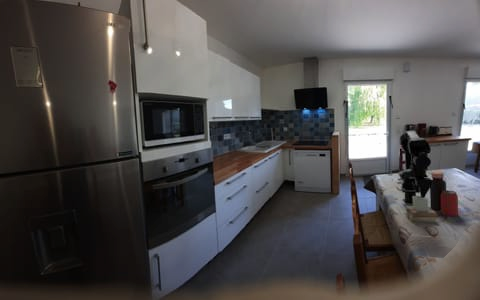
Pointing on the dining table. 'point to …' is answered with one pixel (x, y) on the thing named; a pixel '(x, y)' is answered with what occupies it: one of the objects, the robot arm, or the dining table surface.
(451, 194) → the beer can
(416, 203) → the sage block
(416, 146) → the robot arm
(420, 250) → the dining table surface
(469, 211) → the dining table surface
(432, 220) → the slab bottom
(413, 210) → the slab top
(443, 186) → the bottle
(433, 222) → the mat
